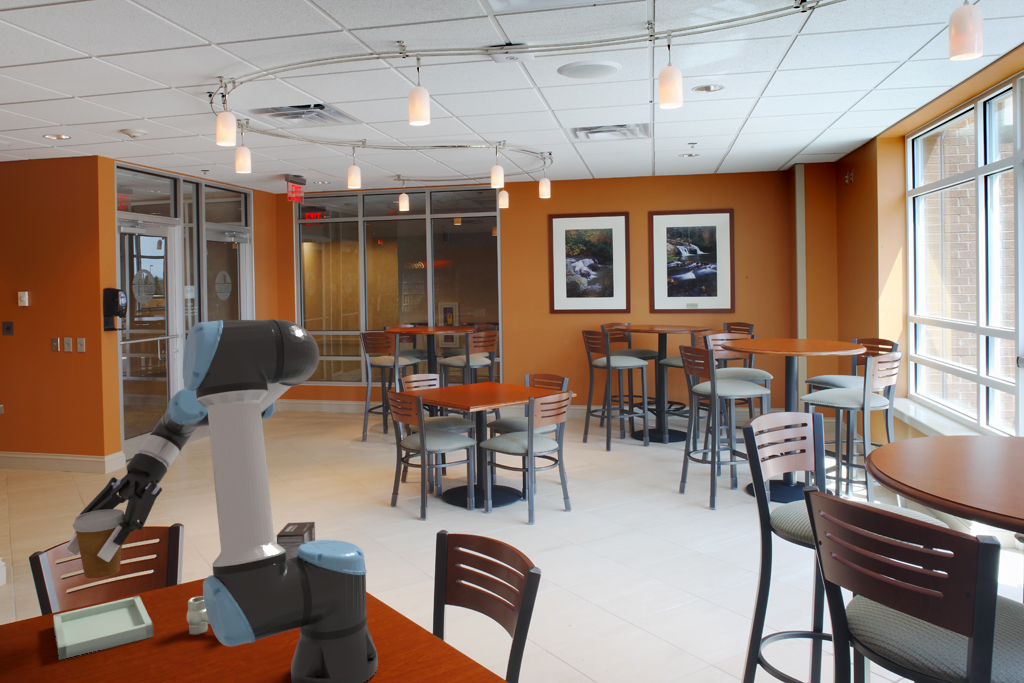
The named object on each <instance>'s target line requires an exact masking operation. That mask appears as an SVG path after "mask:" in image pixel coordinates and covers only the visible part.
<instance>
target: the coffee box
mask: <svg viewBox="0 0 1024 683" xmlns="http://www.w3.org/2000/svg"><path fill="white" fill-rule="evenodd" d="M315 524H316V523H315V521H305V522H302V521H301V522H287V524H286V525H285V526H284V527H283V528H282V529H281V530H280V531H279V532H278V533H277V534H276V543H277V544H278V545H280V546H281V547H283V548H284V549H285V553H286V559H290V558H294V557H297V554H296V552H297V550H298V547H299V546H300V545H302V544H304V543H306V542H310V541H316V531H315V530H316V527H315V526H316V525H315Z"/></svg>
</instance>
